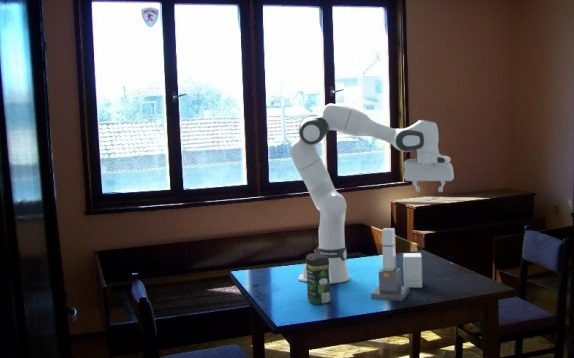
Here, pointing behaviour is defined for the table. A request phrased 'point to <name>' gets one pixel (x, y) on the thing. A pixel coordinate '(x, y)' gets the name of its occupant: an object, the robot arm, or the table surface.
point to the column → (389, 249)
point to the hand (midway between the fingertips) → (429, 191)
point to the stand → (390, 286)
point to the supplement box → (412, 269)
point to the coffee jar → (318, 278)
